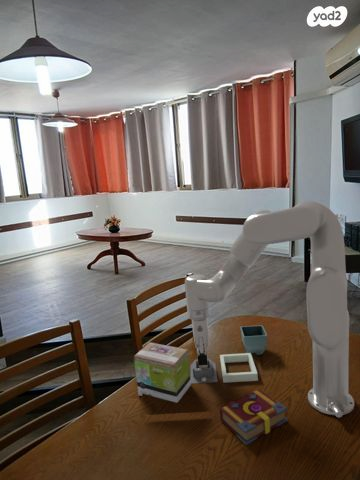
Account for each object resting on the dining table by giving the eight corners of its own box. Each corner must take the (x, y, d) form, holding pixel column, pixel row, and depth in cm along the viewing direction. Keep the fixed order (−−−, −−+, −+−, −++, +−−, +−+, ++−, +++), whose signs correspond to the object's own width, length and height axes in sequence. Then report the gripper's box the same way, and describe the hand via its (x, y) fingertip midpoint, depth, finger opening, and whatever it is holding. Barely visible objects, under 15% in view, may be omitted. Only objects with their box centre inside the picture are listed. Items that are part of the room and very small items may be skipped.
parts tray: (258, 384, 115) (257, 373, 114) (223, 386, 116) (223, 375, 115) (251, 362, 128) (250, 352, 127) (220, 364, 129) (219, 354, 128)
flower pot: (268, 357, 131) (267, 335, 129) (244, 359, 131) (243, 336, 129) (263, 346, 139) (262, 324, 138) (241, 347, 140) (239, 326, 138)
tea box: (137, 396, 114) (132, 355, 112) (153, 379, 123) (149, 340, 120) (178, 407, 107) (173, 363, 104) (192, 388, 116) (188, 347, 113)
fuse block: (217, 385, 116) (217, 373, 115) (190, 387, 117) (189, 375, 116) (215, 366, 128) (214, 354, 127) (190, 367, 128) (189, 356, 128)
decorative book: (219, 421, 100) (218, 406, 99) (261, 399, 108) (261, 385, 107) (246, 446, 90) (245, 429, 89) (290, 420, 98) (290, 404, 97)
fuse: (209, 374, 120) (207, 351, 119) (198, 375, 120) (196, 352, 119) (208, 369, 124) (206, 346, 122) (198, 369, 124) (196, 347, 122)
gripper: (211, 321, 109) (215, 374, 113) (208, 301, 126) (212, 348, 129) (187, 322, 110) (192, 375, 113) (187, 303, 126) (192, 350, 130)
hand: (202, 361), depth 121 cm, fingers closed on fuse, 3 cm apart
